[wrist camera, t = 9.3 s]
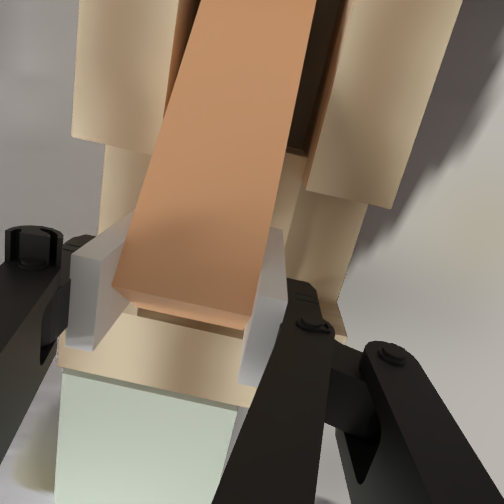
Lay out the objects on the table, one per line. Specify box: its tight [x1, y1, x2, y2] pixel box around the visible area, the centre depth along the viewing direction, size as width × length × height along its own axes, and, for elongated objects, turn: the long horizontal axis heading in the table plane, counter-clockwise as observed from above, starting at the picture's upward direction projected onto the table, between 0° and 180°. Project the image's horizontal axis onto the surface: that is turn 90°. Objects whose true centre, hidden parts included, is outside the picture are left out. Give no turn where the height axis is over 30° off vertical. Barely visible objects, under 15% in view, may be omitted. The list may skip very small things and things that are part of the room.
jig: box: [57, 0, 463, 408], centre depth 19 cm, size 13×24×6 cm, turn 168°
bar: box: [111, 0, 316, 330], centre depth 15 cm, size 4×14×4 cm
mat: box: [54, 368, 238, 504], centre depth 30 cm, size 12×14×1 cm
